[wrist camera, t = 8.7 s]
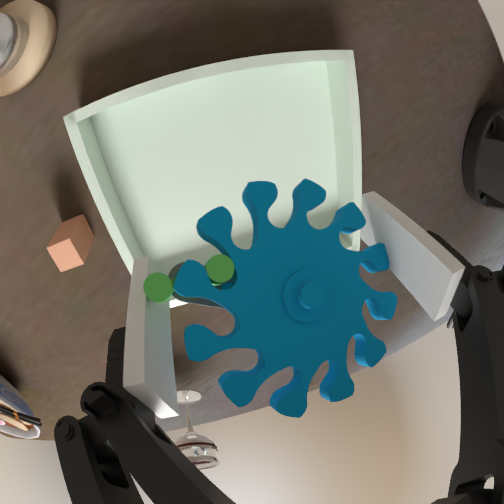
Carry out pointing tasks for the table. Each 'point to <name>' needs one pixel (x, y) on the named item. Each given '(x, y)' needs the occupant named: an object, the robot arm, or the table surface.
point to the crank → (11, 41)
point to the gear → (283, 297)
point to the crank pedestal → (30, 44)
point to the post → (71, 243)
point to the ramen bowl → (16, 413)
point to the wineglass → (196, 438)
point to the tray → (220, 150)
